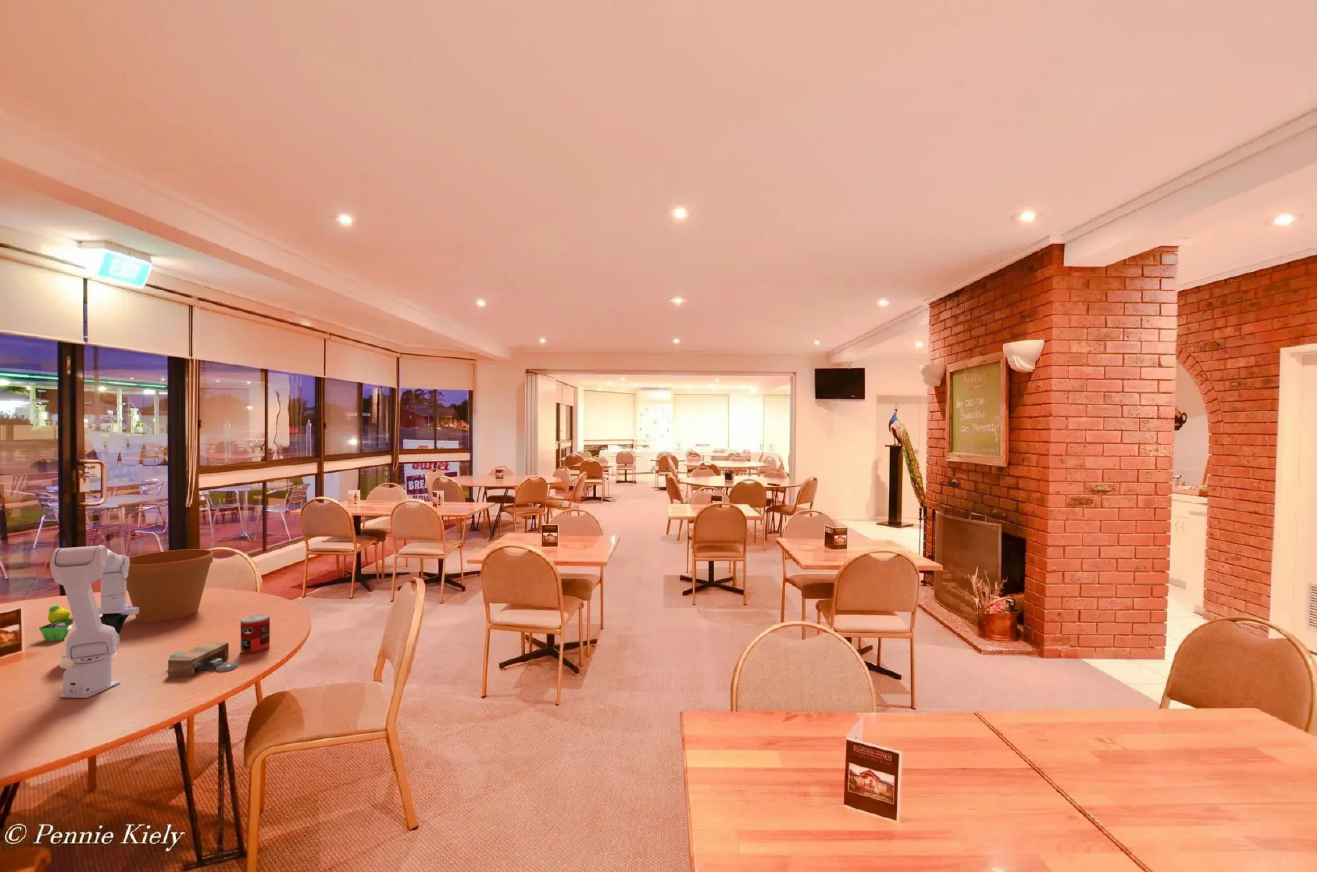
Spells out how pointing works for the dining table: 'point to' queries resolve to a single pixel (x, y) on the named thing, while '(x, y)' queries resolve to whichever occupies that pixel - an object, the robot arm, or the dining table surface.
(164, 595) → the flowerpot
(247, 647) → the canned food
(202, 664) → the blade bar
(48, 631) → the fruit basket
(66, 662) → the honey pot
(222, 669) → the slate coaster
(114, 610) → the robot arm
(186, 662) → the wooden bridge block
